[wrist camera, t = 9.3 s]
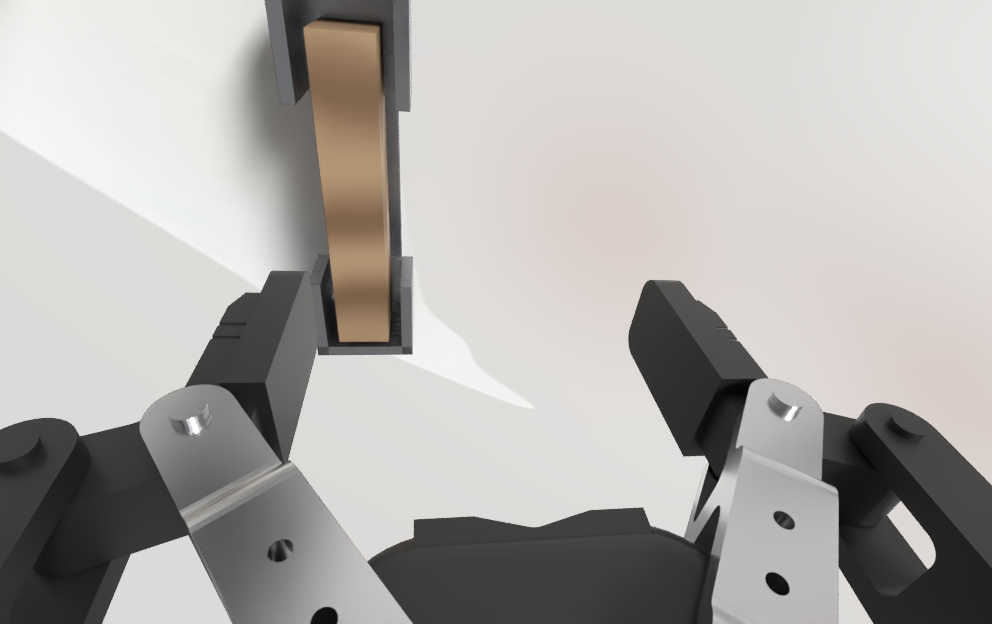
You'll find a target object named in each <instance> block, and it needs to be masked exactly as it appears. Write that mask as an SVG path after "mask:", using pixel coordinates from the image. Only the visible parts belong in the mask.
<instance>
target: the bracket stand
mask: <svg viewBox="0 0 992 624" xmlns="http://www.w3.org/2000/svg"><path fill="white" fill-rule="evenodd" d="M265 6H266V12H267V19H268V25H269V32H270V39H271V45H272V52H273V58H274V65H275V72H276V78H277V85H278V91H279V98H280V104H294V105H296V103H297V102H298V101H299V100H300V99H301V97H302V96H303V95H304V94H305V93H306V91H307V90H310V82H309V73H308V64H307V56H306V47H305V38H304V30H303V27H305V26H307V25H308V24H310V23H311V22H313V21H315V20H316V19H318V18H319V17H325V18H336V19H347V20H358V21H369V22H381V23H382V34H383V62H384V91H385V119H386V147H387V175H388V203H389V232H390V260H391V288H392V309H391V321H390V332H389V342H339V333H338V325H337V316H336V307H335V298H334V290H333V281H332V272H331V264H330V255H318V258H317V261H316V264H315V267H314V270H313V273H312V276H311V278H310V281H311V288H312V295H313V303H314V310H315V317H316V324H317V349H318V355H383V354H384V355H397V354H412V348H413V257H402V244H401V199H400V157H399V111H407V112H410V106H411V0H265Z"/></svg>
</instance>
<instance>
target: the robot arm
mask: <svg viewBox="0 0 992 624" xmlns="http://www.w3.org/2000/svg"><path fill="white" fill-rule="evenodd" d="M316 348H317V324H316V317H315V310H314V303H313V295H312V288H311V281H310V276H309V274H308V272H304V271H271V272H270V274H269V276H268V278H267V280H266V283H265V285H264V287H263V289H262V291H261V293H245V294H244V295H242V296H241V297H240V298H238V299H237V300H236V301H235V302H233V303H232V304H231V305H229V306H228V308H227V310H226V312H225V314H224V315H223V317H222V319H221V321H220V326H218V327H217V328H216V330H215V332H214V334H213V339H211V340H210V341H209V343H208V345H207V347H206V349H205V351H204V353H203V355H202V356H201V358H200V360H199V362H198V364H197V366H196V368H195V369H194V372H193V373H192V375H191V377H190V379H189V381H188V382H187V384H186V386H185V387H184V388H181V389H179V390H175V391H173V392H171V393H169V394H167V395H165V396H163V397H162V398H160V399H159V400H157V401H156V402H154V403H153V404H152V405H151V406H150V407H149V408H148V409H147V411H146V412H145V413H144V415H143V417H142V419H141V421H139V422H137V423H133V424H130V425H126V426H122V427H118V428H114V429H109V430H106V431H102V432H97V433H93V434H89V435H85V436H79V434H78V432H77V431H76V429H75V427H74V426H73V425H72V424H70V423H69V422H67V421H64V420H61V419H56V418H40V419H33V420H28V421H23V422H20V423H17V424H14V425H11V426H8V427H6V428H3V429H1V430H0V624H102V622H103V619H104V617H105V615H106V613H107V610H108V608H109V605H110V603H111V600H112V598H113V595H114V593H115V590H116V588H117V586H118V583H119V581H120V578H121V576H122V573H123V571H124V569H125V566H126V564H127V562H128V559H129V557H130V554H132V553H135V552H138V551H141V550H144V549H147V548H150V547H153V546H156V545H159V544H162V543H165V542H168V541H171V540H174V539H177V538H180V537H183V536H187V535H189V537H190V539H191V541H192V543H193V545H194V547H195V549H196V551H197V553H198V555H199V557H200V559H201V561H202V563H203V566H204V567H205V570H206V571H207V574H208V575H209V578H210V580H211V582H212V583H213V586H214V588H215V590H216V592H217V594H218V596H219V598H220V599H221V602H222V604H223V606H224V608H225V609H226V612H227V614H228V616H229V618H230V620H231V622H232V624H838V566H839V568H840V570H841V571H842V573H843V575H844V576H845V578H846V579H847V581H848V583H849V584H850V586H851V588H852V589H853V591H854V592H855V594H856V596H857V597H858V599H859V601H860V602H861V604H862V605H863V607H864V609H865V610H866V612H867V614H868V615H869V617H870V619H871V620H872V622H873V623H874V624H992V485H991V484H990V483H989V482H988V481H987V480H986V479H985V478H984V477H983V476H982V475H981V474H980V473H979V472H978V471H977V470H976V469H975V468H974V467H973V466H972V465H971V464H970V463H969V462H968V461H967V460H966V459H965V458H964V457H963V456H962V455H961V454H960V453H959V452H958V451H957V450H956V449H955V448H954V447H953V446H952V445H951V444H950V443H949V442H948V441H947V440H946V439H945V438H944V437H943V436H942V435H941V434H940V433H939V432H938V431H937V430H936V429H935V428H934V427H933V426H932V425H930V424H929V423H928V422H927V421H925V420H924V419H922V418H921V417H919V416H917V415H915V414H914V413H912V412H910V411H907V410H906V409H903V408H900V407H898V406H894V405H890V404H885V403H874V404H870V405H868V406H867V407H866V408H865V410H864V411H863V412H862V413H861V415H860V416H859V417H858V419H852V418H848V417H843V416H839V415H835V414H830V413H826V412H822V409H821V408H820V406H819V405H818V403H817V402H816V401H815V400H814V399H813V398H812V397H811V396H810V395H808V394H807V393H806V392H804V391H803V390H801V389H800V388H798V387H796V386H794V385H792V384H790V383H787V382H784V381H781V380H777V379H770V378H768V377H767V376H766V374H765V373H764V372H763V371H762V369H761V368H760V367H759V366H758V364H757V363H756V362H755V361H754V359H753V358H752V357H751V356H750V355H749V353H748V352H747V351H746V349H745V348H744V347H743V346H742V344H741V343H740V342H739V341H737V338H736V337H735V336H734V335H733V333H732V332H731V331H730V330H728V329H727V326H726V324H725V323H724V322H723V321H722V320H721V318H720V317H719V316H718V315H717V313H716V312H714V311H713V310H711V309H710V308H709V307H707V306H706V305H704V304H703V303H701V302H700V301H696V300H695V299H694V298H693V296H692V295H691V294H690V292H689V291H688V290H687V288H686V287H685V286H684V284H682V282H680V281H672V280H671V281H669V280H649V281H647V282H646V284H645V285H644V287H643V290H642V293H641V296H640V299H639V302H638V305H637V308H636V311H635V315H634V318H633V320H632V324H631V327H630V330H629V348H630V352H631V355H632V356H633V359H634V360H635V362H636V364H637V366H638V368H639V370H640V372H641V374H642V376H643V378H644V380H645V382H646V384H647V386H648V388H649V390H650V392H651V394H652V396H653V398H654V400H655V402H656V403H657V405H658V407H659V409H660V411H661V413H662V415H663V417H664V419H665V421H666V423H667V425H668V427H669V429H670V431H671V433H672V435H673V437H674V438H675V441H676V443H677V444H678V446H679V448H680V450H681V452H682V454H683V456H705V457H706V459H707V460H708V463H707V465H706V467H705V469H704V471H703V473H702V477H701V480H700V484H699V487H698V491H697V494H696V498H695V501H694V505H693V509H692V512H691V515H690V519H689V522H688V526H687V529H686V533H685V535H684V538H683V537H680V536H678V535H676V534H673V533H671V532H669V531H666V530H663V529H659V528H656V527H652V526H650V524H649V521H648V519H647V516H646V514H645V511H644V509H643V508H626V509H625V508H624V509H607V510H590V511H587V512H584V513H580V514H577V515H574V516H571V517H568V518H565V519H562V520H560V521H556V522H553V523H550V524H547V525H544V526H541V527H535V528H533V527H526V526H521V525H515V524H510V523H505V522H499V521H494V520H489V519H483V518H479V517H456V518H437V519H418V520H414V538H412V539H409V540H406V541H404V542H401V543H398V544H396V545H394V546H392V547H390V548H387V549H386V550H384V551H382V552H381V553H379V554H377V555H376V556H374V557H372V558H371V559H370V560H369V561H366V560H365V558H364V557H363V556H362V554H361V553H360V552H359V550H358V549H357V548H356V546H355V545H354V544H353V542H352V541H351V539H350V538H349V537H348V535H347V534H346V533H345V531H344V530H343V529H342V527H341V526H340V524H339V523H338V522H337V521H336V519H335V518H334V516H333V515H332V514H331V512H330V511H329V510H328V509H327V507H326V506H325V504H324V503H323V501H322V500H321V499H320V497H319V496H318V495H317V493H316V492H315V491H314V489H313V488H312V487H311V485H310V484H309V482H308V481H307V480H306V478H305V477H304V476H303V474H302V473H301V472H300V470H299V469H298V468H297V467H296V466H295V464H293V463H292V462H291V461H288V458H289V454H290V450H291V446H292V442H293V439H294V435H295V431H296V427H297V423H298V419H299V415H300V412H301V408H302V404H303V400H304V396H305V392H306V389H307V385H308V381H309V377H310V373H311V369H312V365H313V362H314V358H315V354H316ZM900 501H902V502H903V503H904V505H905V506H906V507H907V509H908V510H909V511H910V512H911V514H912V515H913V516H914V517H915V519H916V520H917V521H918V522H919V523H920V525H921V526H922V527H923V529H924V530H925V531H926V532H927V533H928V535H929V536H930V538H931V540H932V542H933V544H934V547H935V551H936V559H935V562H934V564H933V566H932V567H931V568H929V569H927V568H926V567H925V565H924V564H923V563H922V561H921V560H920V559H919V557H918V556H917V555H916V553H915V552H914V551H913V549H912V548H911V547H910V546H909V544H908V543H907V541H906V540H905V539H904V538H903V536H902V535H901V534H900V532H899V531H898V530H897V528H896V527H895V526H894V525H893V523H892V522H891V520H890V519H889V518H888V516H887V514H888V513H889V512H890V511H891V510H892V509H893V508H894V507H895V506H896V505H897V504H898V503H899V502H900Z"/></svg>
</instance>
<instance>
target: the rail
mask: <svg viewBox="0 0 992 624" xmlns="http://www.w3.org/2000/svg"><path fill="white" fill-rule="evenodd" d="M303 30H304V38H305V47H306V56H307V64H308V73H309V82H310V90H311V99H312V108H313V116H314V125H315V134H316V142H317V151H318V160H319V168H320V177H321V186H322V194H323V203H324V212H325V220H326V229H327V238H328V246H329V255H330V264H331V272H332V281H333V290H334V298H335V307H336V316H337V325H338V333H339V342H389V332H390V321H391V309H392V288H391V260H390V232H389V203H388V175H387V147H386V119H385V91H384V62H383V34H382V23H381V22H369V21H358V20H347V19H336V18H325V17H319V18H318V19H316V20H315V21H313V22H311V23H310V24H308V25H307V26H305V27H303Z"/></svg>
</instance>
